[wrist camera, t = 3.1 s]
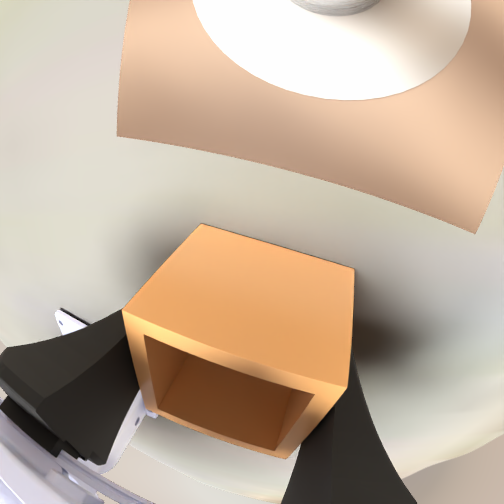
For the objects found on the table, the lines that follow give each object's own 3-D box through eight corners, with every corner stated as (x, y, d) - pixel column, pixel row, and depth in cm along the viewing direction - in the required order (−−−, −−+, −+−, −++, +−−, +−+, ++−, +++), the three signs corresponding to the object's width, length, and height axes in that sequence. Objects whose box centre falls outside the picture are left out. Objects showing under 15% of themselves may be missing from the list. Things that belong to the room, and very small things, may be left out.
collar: (309, 365, 14) (285, 459, 10) (194, 327, 14) (145, 408, 10) (354, 269, 10) (347, 387, 6) (200, 223, 11) (121, 310, 7)
